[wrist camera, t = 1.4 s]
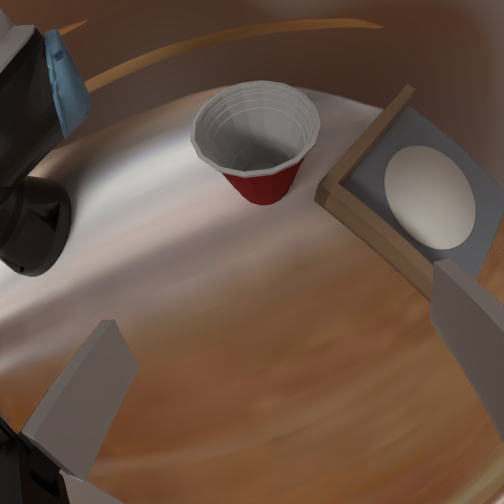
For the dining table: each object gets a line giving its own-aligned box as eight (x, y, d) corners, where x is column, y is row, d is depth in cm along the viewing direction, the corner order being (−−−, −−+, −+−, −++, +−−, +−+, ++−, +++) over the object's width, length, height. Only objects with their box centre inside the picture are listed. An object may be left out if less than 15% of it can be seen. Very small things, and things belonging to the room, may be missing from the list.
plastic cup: (269, 130, 35) (264, 60, 23) (328, 188, 32) (348, 127, 20) (199, 177, 34) (166, 118, 22) (254, 245, 32) (238, 203, 20)
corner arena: (314, 200, 32) (318, 183, 28) (398, 102, 34) (407, 83, 30) (449, 321, 27) (470, 321, 23) (505, 198, 29) (521, 187, 25)
